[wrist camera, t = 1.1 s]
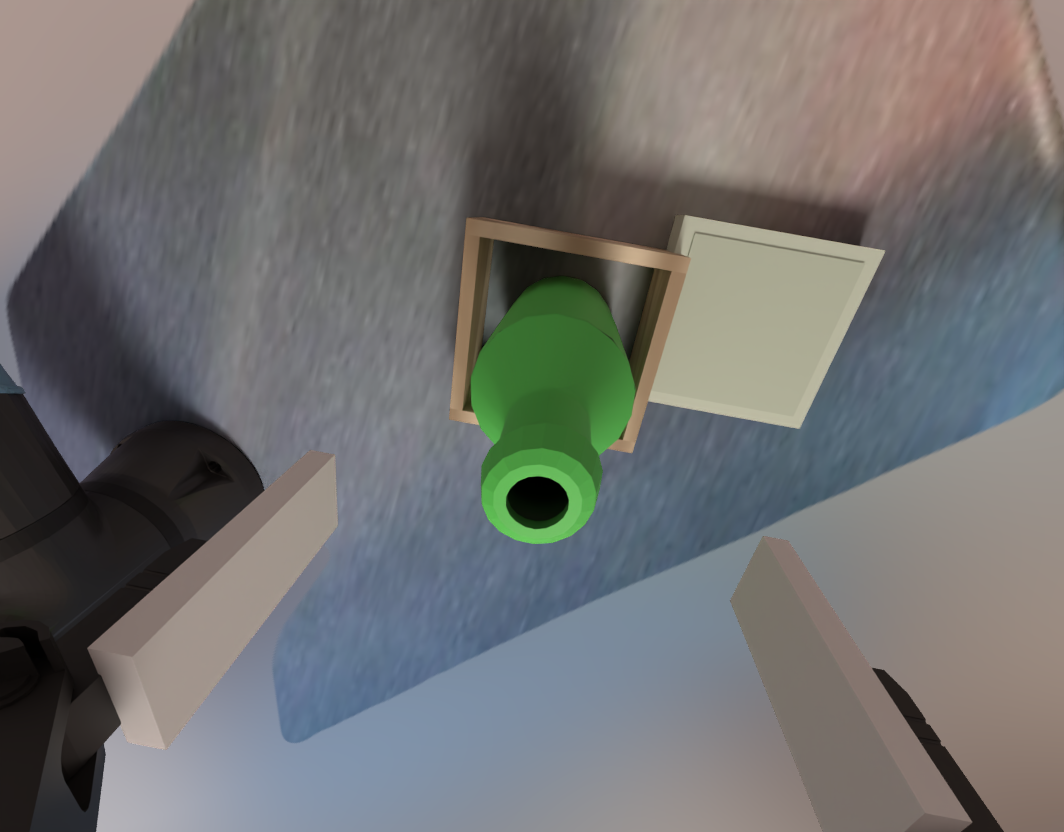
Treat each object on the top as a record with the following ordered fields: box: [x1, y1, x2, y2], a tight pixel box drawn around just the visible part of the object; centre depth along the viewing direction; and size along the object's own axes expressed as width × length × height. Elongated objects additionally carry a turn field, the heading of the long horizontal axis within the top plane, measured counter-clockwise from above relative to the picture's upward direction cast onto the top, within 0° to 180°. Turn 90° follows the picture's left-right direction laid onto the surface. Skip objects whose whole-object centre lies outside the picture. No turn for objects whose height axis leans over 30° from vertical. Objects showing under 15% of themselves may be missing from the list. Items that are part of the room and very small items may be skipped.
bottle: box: [471, 276, 636, 544], centre depth 26 cm, size 9×9×25 cm
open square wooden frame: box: [449, 217, 691, 453], centre depth 34 cm, size 15×15×6 cm
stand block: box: [648, 215, 885, 429], centre depth 34 cm, size 14×14×3 cm
